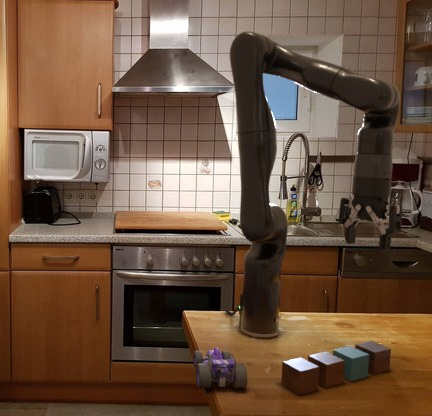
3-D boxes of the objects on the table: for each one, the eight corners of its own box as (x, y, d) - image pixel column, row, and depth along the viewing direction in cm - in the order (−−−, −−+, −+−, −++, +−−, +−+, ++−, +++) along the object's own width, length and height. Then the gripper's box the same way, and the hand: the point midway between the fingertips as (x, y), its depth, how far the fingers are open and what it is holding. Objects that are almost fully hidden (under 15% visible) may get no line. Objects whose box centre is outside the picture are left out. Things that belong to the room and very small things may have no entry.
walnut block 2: (306, 377, 110) (307, 355, 110) (324, 373, 112) (325, 351, 112) (325, 388, 106) (326, 364, 105) (343, 383, 108) (344, 360, 107)
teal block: (331, 371, 113) (333, 349, 112) (348, 367, 115) (349, 345, 115) (350, 381, 109) (352, 358, 108) (367, 376, 111) (369, 354, 110)
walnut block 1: (281, 384, 107) (282, 361, 107) (299, 379, 109) (300, 357, 109) (299, 395, 103) (300, 371, 102) (318, 390, 105) (319, 366, 104)
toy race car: (229, 360, 119) (230, 332, 118) (247, 392, 104) (248, 361, 103) (187, 360, 119) (188, 332, 118) (199, 392, 104) (200, 361, 103)
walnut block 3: (353, 365, 116) (355, 344, 115) (369, 361, 118) (371, 340, 118) (373, 374, 112) (375, 352, 111) (389, 370, 114) (391, 348, 113)
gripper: (333, 172, 119) (328, 242, 121) (389, 177, 106) (383, 255, 108) (357, 171, 122) (352, 239, 124) (414, 176, 109) (407, 252, 112)
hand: (366, 247), depth 116 cm, fingers open, 8 cm apart
